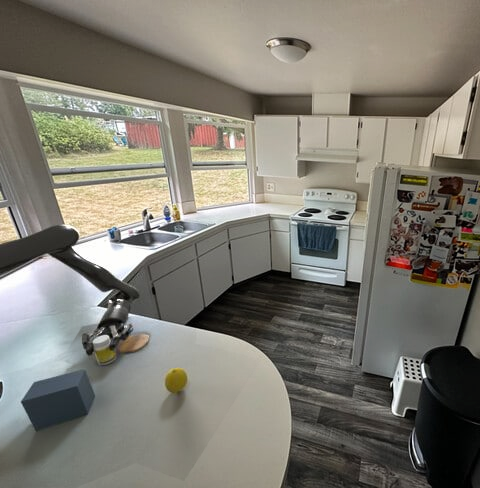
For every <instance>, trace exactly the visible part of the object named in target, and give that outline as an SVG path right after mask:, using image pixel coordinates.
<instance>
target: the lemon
mask: <svg viewBox="0 0 480 488" xmlns="http://www.w3.org/2000/svg"><path fill="white" fill-rule="evenodd" d="M187 383H188V375H187V371H185V369H183V368H182V367H174V368H172V369H170V370H168V372H167V373H166V375H165V377H164V387H165V389H166V390H167V391H168V392H169V393H172V394H176V393H179V392H181V391H183V389H184V388H185V387H186V385H187Z"/></svg>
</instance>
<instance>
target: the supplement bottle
mask: <svg viewBox="0 0 480 488" xmlns="http://www.w3.org/2000/svg"><path fill="white" fill-rule="evenodd" d="M111 340H112V339H110V338H109V336H108V335H102V336H99V337H97V338H96V339H94V340H93V345H94V347H93V350H94V352H93V354H94V355H95V359H96V361H97V364H98V365H100V366H104V365H108V364H110V363H112V362H114V361H115V360H116V359H117V353H116V348H114V350H112V351H110V348H109V344H110V342H111Z"/></svg>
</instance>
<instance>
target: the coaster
mask: <svg viewBox="0 0 480 488" xmlns="http://www.w3.org/2000/svg"><path fill="white" fill-rule="evenodd" d="M149 343H150V336H149V335H148V334H144V333H138V334H135V335H131V336H128V338H127V339H126V340H121V341H120V342H119V343H118V345H117V350H118V351H119V353H121V354H131V353H135V352H137V351H139V350H142V349H143V348H145V347H146V346H147V345H148V344H149Z"/></svg>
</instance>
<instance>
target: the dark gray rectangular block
mask: <svg viewBox="0 0 480 488" xmlns="http://www.w3.org/2000/svg"><path fill="white" fill-rule="evenodd" d="M95 397H96V394H95V391H94V389H93V386H92V383H91V381H90V378H89V375H88V372H87V370H86V368H83V369H79V370H75V371H72V372H67V373H64V374H60V375H55V376H52V377H47V378H43V379H41V380H37V381H33V383H32V384H31V385H30V387H29V389H28V391H27V392H26V393H25V394H24V396H23V398H21V400H20V403H21V405H22V407H23V409H24V411H25V414H26V415H27V417H28V419H29V421H30V423H31V425H32V427H33V429H34V431H35V432H37V431H41V430H44V429H46V428H50V427H52V426H56V425H59V424H62V423H65V422H68V421H71V420H74V419H77V418H80V417H84V416H87V415H89V413H90V411H91V409H92V405H93V403H94V401H95Z"/></svg>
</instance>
